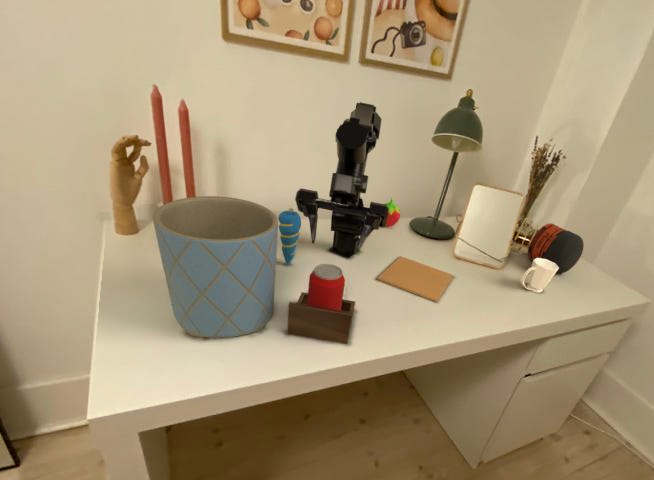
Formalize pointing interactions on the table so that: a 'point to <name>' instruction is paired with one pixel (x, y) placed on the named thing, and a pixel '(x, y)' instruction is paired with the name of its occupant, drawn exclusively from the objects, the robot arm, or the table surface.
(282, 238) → the ornament
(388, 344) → the table surface
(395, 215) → the red strawberry
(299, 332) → the open wooden box
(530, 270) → the cup
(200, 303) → the planter
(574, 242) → the oil filter
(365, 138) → the robot arm
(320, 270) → the beverage can
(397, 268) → the placemat
